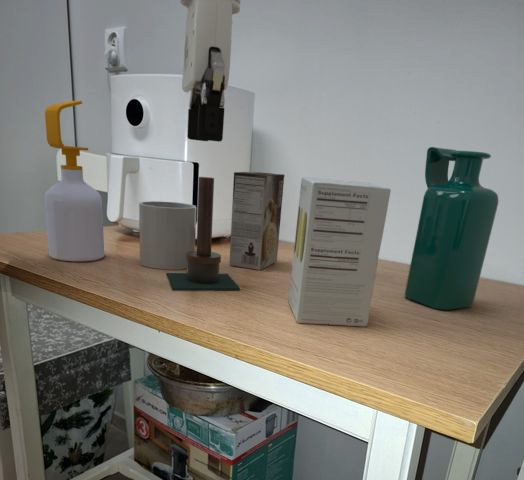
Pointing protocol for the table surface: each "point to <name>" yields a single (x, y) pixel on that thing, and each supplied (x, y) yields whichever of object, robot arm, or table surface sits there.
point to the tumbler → (166, 234)
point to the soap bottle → (71, 202)
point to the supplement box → (336, 250)
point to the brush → (204, 239)
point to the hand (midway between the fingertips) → (203, 140)
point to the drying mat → (181, 283)
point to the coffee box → (255, 219)
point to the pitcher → (451, 231)
